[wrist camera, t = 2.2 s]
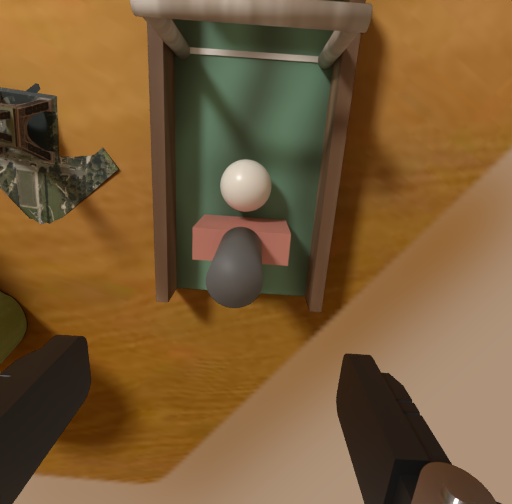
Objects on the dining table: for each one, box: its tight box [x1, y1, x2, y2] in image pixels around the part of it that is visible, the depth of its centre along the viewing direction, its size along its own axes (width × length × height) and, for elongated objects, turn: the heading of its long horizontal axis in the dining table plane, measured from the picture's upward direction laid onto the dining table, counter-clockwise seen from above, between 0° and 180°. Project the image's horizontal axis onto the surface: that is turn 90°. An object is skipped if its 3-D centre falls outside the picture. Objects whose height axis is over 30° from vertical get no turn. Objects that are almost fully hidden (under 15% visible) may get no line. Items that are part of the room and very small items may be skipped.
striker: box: [192, 214, 291, 308], centre depth 22 cm, size 7×3×12 cm, turn 86°
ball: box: [220, 159, 272, 212], centre depth 25 cm, size 4×4×4 cm
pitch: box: [130, 0, 372, 312], centre depth 23 cm, size 14×25×10 cm, turn 176°
